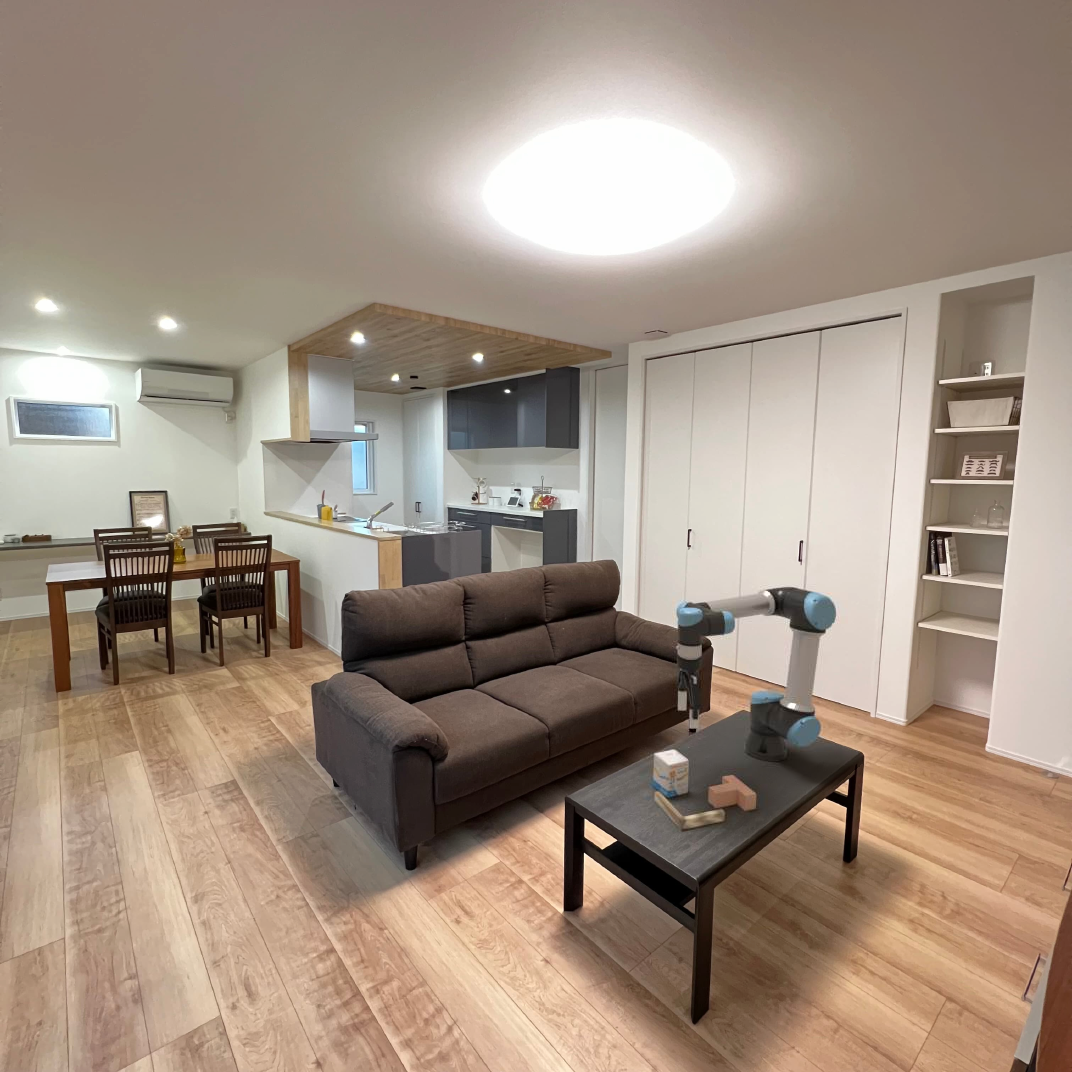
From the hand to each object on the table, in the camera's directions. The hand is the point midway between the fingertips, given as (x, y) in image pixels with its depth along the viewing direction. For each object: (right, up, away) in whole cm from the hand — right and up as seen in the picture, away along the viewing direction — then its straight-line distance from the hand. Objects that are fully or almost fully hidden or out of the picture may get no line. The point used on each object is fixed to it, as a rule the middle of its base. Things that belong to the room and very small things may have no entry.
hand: (687, 718), depth 187 cm
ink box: (-5, -26, +5) cm, 26 cm away
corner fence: (-2, -27, -7) cm, 28 cm away
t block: (+12, -26, -2) cm, 29 cm away
